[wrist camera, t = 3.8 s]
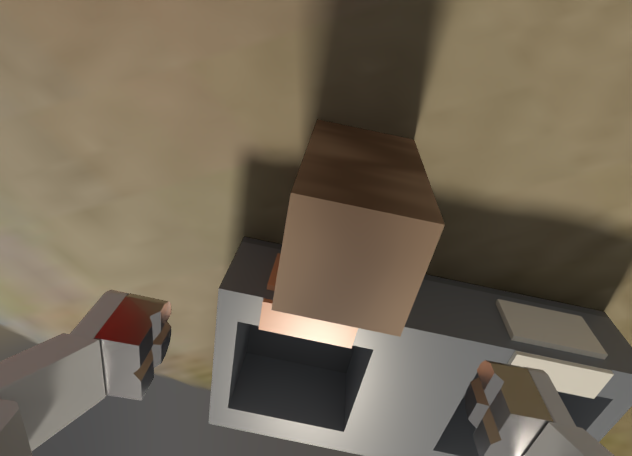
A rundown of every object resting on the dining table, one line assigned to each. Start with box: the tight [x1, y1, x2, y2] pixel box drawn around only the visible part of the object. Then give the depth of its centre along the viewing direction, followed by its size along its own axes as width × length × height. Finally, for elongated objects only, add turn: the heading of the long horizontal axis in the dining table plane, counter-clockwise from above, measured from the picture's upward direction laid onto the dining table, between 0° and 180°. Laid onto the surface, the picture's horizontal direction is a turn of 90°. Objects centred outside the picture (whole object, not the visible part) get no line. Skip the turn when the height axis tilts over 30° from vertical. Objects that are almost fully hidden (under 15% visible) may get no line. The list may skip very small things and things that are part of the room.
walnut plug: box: [271, 119, 445, 337], centre depth 16 cm, size 4×4×8 cm
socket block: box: [209, 237, 632, 456], centre depth 22 cm, size 20×10×5 cm, turn 80°
